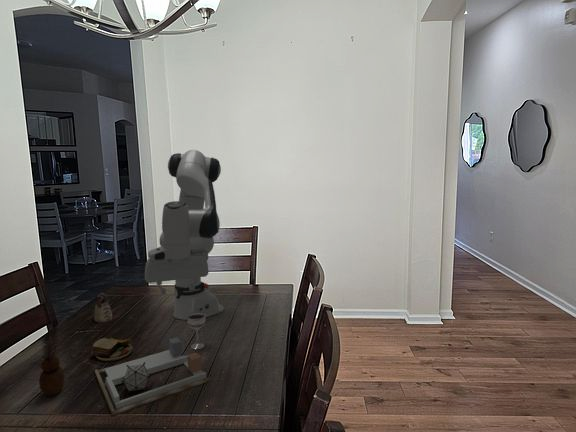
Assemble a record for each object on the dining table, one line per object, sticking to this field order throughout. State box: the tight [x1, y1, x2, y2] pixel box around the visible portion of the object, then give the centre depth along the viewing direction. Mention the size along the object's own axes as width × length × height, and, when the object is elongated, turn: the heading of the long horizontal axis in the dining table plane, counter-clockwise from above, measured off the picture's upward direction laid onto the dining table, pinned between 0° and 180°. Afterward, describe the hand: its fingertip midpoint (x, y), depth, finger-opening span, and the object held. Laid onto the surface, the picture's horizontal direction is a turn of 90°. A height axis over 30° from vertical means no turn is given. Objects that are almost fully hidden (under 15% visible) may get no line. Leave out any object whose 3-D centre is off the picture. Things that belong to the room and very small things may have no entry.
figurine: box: [93, 292, 113, 324], centre depth 169 cm, size 7×7×12 cm
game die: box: [121, 362, 152, 395], centre depth 118 cm, size 9×8×10 cm
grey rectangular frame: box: [104, 352, 207, 410], centre depth 122 cm, size 27×14×5 cm, turn 126°
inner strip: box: [104, 336, 184, 379], centre depth 131 cm, size 24×8×6 cm, turn 126°
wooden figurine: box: [38, 342, 66, 397], centre depth 116 cm, size 7×6×15 cm
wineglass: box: [187, 312, 207, 350], centre depth 145 cm, size 7×7×12 cm
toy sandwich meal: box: [90, 337, 134, 362], centre depth 140 cm, size 12×14×5 cm
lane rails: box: [94, 349, 210, 416], centre depth 125 cm, size 29×26×1 cm
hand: (177, 292), depth 129 cm, fingers open, 8 cm apart
